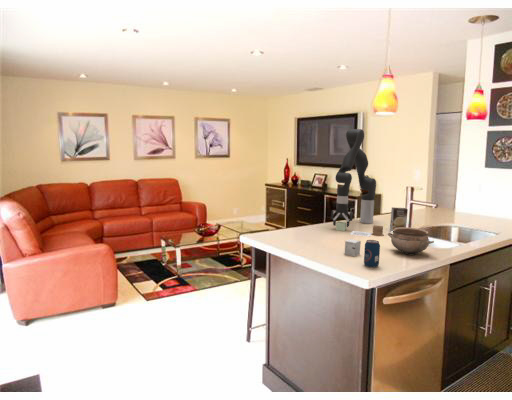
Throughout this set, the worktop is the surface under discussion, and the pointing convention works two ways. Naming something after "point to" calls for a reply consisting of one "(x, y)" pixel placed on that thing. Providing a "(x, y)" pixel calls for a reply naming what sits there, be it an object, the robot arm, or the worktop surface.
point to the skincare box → (352, 247)
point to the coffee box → (398, 218)
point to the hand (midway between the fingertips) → (341, 226)
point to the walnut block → (377, 230)
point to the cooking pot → (410, 240)
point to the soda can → (371, 253)
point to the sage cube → (341, 226)
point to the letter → (360, 233)
